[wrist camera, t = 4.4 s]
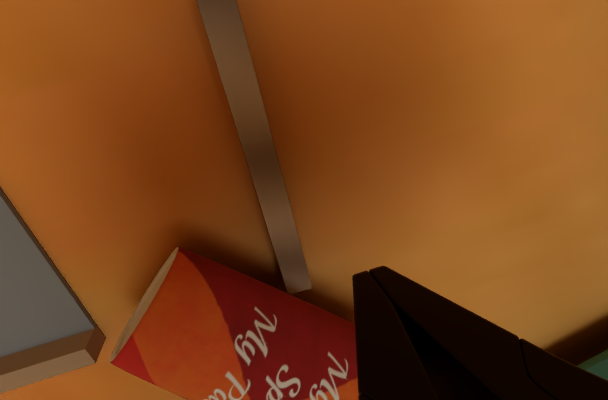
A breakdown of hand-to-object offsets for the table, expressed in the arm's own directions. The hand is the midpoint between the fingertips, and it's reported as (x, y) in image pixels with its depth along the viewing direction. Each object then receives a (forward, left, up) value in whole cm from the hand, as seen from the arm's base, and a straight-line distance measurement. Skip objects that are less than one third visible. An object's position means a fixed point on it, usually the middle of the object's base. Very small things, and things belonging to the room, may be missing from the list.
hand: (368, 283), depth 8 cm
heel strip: (0, +2, -11) cm, 11 cm away
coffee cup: (-4, +9, -8) cm, 13 cm away
